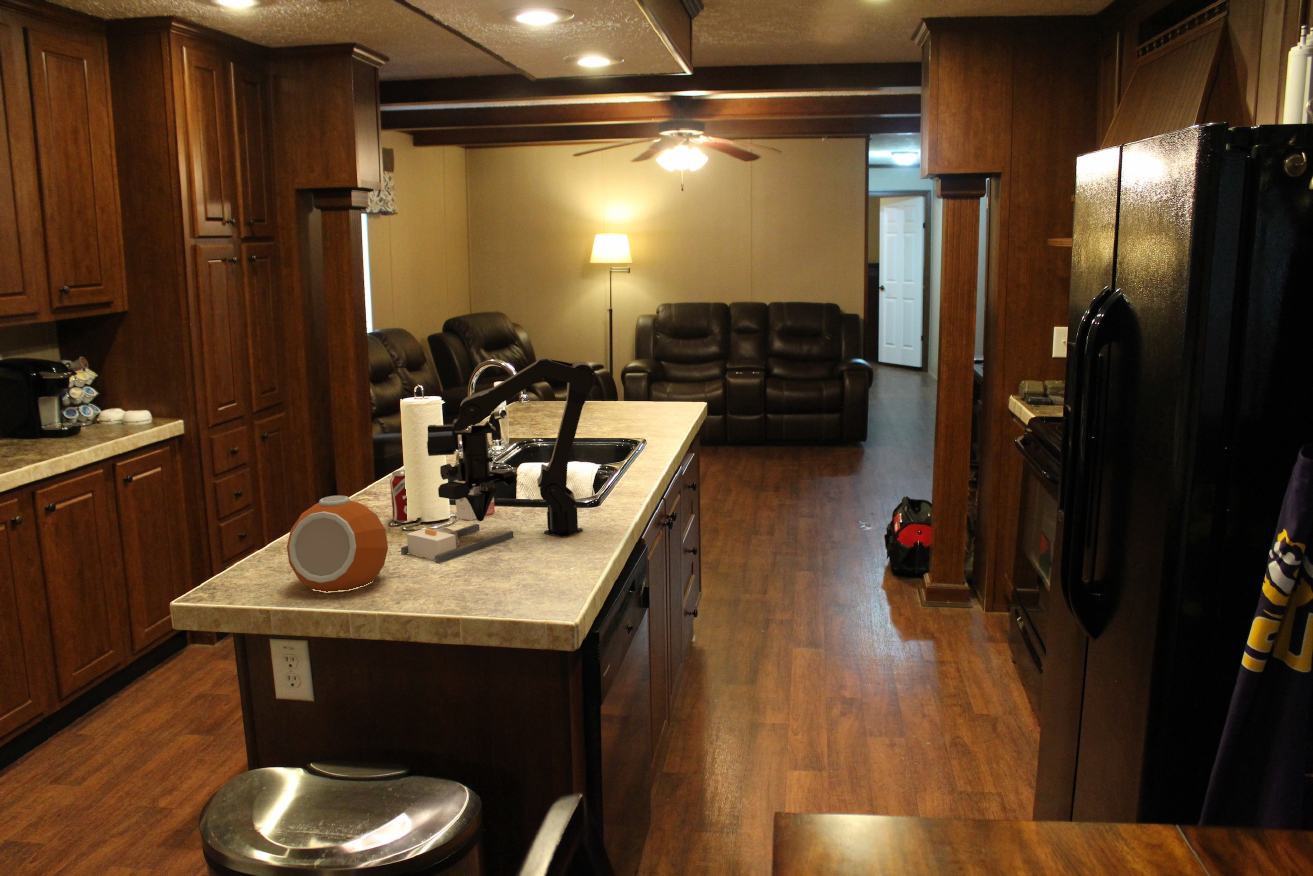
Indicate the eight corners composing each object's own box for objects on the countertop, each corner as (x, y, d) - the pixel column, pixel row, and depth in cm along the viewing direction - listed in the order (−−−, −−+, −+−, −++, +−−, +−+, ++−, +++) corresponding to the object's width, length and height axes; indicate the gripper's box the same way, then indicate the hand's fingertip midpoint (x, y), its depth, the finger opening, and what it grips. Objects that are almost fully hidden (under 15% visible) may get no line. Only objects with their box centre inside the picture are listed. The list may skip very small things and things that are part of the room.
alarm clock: (274, 597, 197) (264, 509, 194) (316, 568, 214) (308, 487, 211) (369, 599, 194) (361, 510, 191) (404, 570, 211) (397, 488, 208)
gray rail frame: (513, 537, 232) (513, 531, 232) (438, 563, 215) (438, 556, 215) (476, 530, 239) (476, 523, 239) (401, 554, 222) (400, 547, 222)
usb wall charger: (448, 544, 229) (447, 526, 228) (464, 550, 224) (462, 533, 223) (432, 548, 226) (431, 530, 226) (447, 554, 221) (446, 536, 220)
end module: (456, 555, 220) (454, 530, 219) (438, 561, 216) (436, 536, 215) (426, 548, 226) (424, 524, 225) (408, 554, 222) (406, 529, 221)
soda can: (410, 515, 254) (406, 468, 252) (427, 519, 250) (424, 471, 248) (387, 521, 249) (383, 473, 247) (404, 525, 245) (400, 476, 243)
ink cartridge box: (481, 510, 257) (477, 452, 254) (495, 513, 254) (491, 454, 251) (455, 518, 250) (451, 459, 248) (469, 521, 247) (465, 461, 245)
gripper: (481, 442, 241) (485, 507, 244) (418, 457, 226) (424, 526, 229) (515, 446, 234) (519, 513, 237) (453, 462, 220) (458, 533, 223)
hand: (480, 520), depth 232 cm, fingers closed
